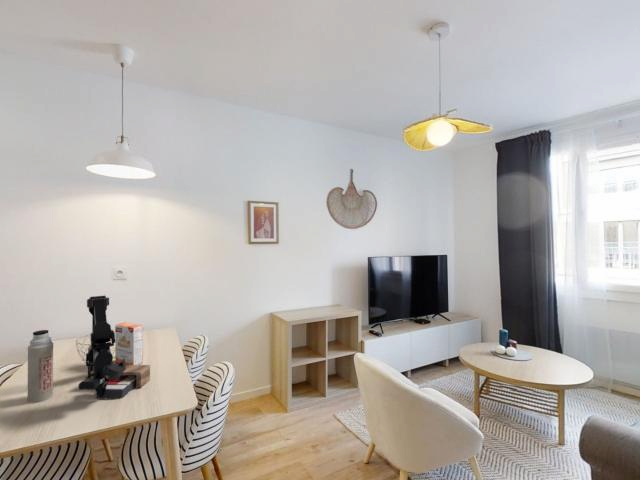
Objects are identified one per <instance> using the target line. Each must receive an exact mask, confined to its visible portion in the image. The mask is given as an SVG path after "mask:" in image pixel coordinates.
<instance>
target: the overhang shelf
mask: <svg viewBox="0 0 640 480" xmlns="http://www.w3.org/2000/svg"><path fill="white" fill-rule="evenodd" d="M92 373H93V371H92V372H91V374H92ZM122 375H128V376H130V375H136V387H135V388H136V389H141V388H143V387H144V386H146V385H147V384H148V382H149V381H151V365H150V364H140V365H126V370H124V372H123V374H122ZM91 378H94V376H92V377H91ZM112 379H114V378H112ZM112 379H111V380H112Z"/></svg>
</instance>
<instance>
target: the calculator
mask: <svg viewBox="0 0 640 480" xmlns="http://www.w3.org/2000/svg"><path fill="white" fill-rule="evenodd" d="M135 388H136V375H130V376H128V375H122V376H120V377H119V378H117V379H115V378H114V379H112V380H110V381H109V382H108V384H107V387H106V390H105V393H104V396H103V397H99V396H98V394H97V393H96V392H95V393H96V395H95V396H96V397H95V398H96V399H124V397H126V396H127V395H128V394H129V392H131V391H132V390H134V389H135Z"/></svg>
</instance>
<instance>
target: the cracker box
mask: <svg viewBox="0 0 640 480" xmlns="http://www.w3.org/2000/svg"><path fill="white" fill-rule="evenodd" d="M114 329H115V331H114V333H115V343H114V347H115V351H114V352H115V353H114V354H115V359H114V361H115V363H114V364H119V363H120V362H122V361H123V362H125V364H126V365H143V363H144V359H143V358H144V348H143V347H144V346H143V345H144V344H143V343H144V325H142V324H137V323H131V322H126V321H125V322H121V323H118V324H115V328H114Z"/></svg>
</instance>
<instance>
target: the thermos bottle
mask: <svg viewBox="0 0 640 480" xmlns="http://www.w3.org/2000/svg"><path fill="white" fill-rule="evenodd" d="M49 335H50V334H49V329H48V330H47V329H41V330H36V331H33V332H32V339H31V340H30V342H29V345H28V346H27V402H28V403H29V402H30V403H29V404H35V403H40V402H44V401H47V400H49V399H50V398H52V397H53V395H54V342H53V340H52V337H51V336H49Z"/></svg>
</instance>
